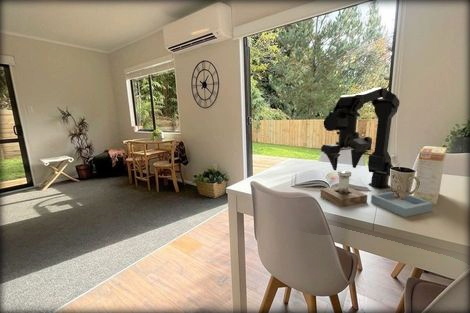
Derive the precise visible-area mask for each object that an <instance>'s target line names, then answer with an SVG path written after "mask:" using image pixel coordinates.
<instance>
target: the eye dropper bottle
mask: <svg viewBox="0 0 470 313" xmlns="http://www.w3.org/2000/svg"><path fill="white" fill-rule="evenodd" d="M390 157H391V164H392V166H393V167H399V168H400V167H401V166H400V165H401V162H400V161H399V160H398V155H397V154H396V152H394V153H393V155H391V156H390Z"/></svg>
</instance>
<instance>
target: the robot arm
mask: <svg viewBox="0 0 470 313" xmlns="http://www.w3.org/2000/svg"><path fill="white" fill-rule="evenodd" d="M367 103H370V104H371V105H372V106H373V107H374V114H375V116H376V117H377V125H376V126H377V127H376V134H375V142H374V151H373V152H372V154H369V155H368V159H367V160H368V161H367V168H368V172H369V173H372V175H371V181H370V183H368V186H371V187H374V188H376V189H380V190H382V189H389V188H391V187H390V186H391V185H389V179H390V177H391V176H390V168H391V167H393V166H392V164H391V160H392V159H391V157H392V156H391V155H390V153H389V150H388V149H389V142H390V134H391V128H392V127H391V126H392V119H393V117H394V116H395V115H396V114H397V112H398V109H399V106H400V99H399V98H398V96H397V95H396V94H394V93H393V92H391V91H389V90H388V89H387V88H386V87H384V86H380V87H373V88H371V89H369V90H366V91H363V92H359V93H357V94H347V95H346V94H345V95H341V96H339V99H338V100H337V102H336V104H335V106H334V107H333V109H332V111H329V112H328V115H327V116H325V118H324V120H323V127H324V129H325V130H326V131H328V132H334V131H336V135H338V141H336V142H335V144H333V143H326V144H322V145H321V149H320V151H321V152H322V153H323V154H325V155H326V156H327V158H328V160H329V162H330V165H331V167H332V169H333V171H337V168H338V161H339V160H338V159H339V157H340V156H341V153H340V152H341V151H348V150H350V153H351V154H350V155H351V165H352V166H351V167H352V168H353V169H356V168H357V166H358V164H359V162H360V161H361V158H362V156H363V155H364V154H366V153H368V152H369V151H371V150H372V143H373V138H372V137H371V136H365V137H360V133H359V131H357V123H358V122H357V121H358V117H361V114H360V112H358V111H359V110H361V109H362V108H363V107H364V105H365V104H367Z"/></svg>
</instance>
